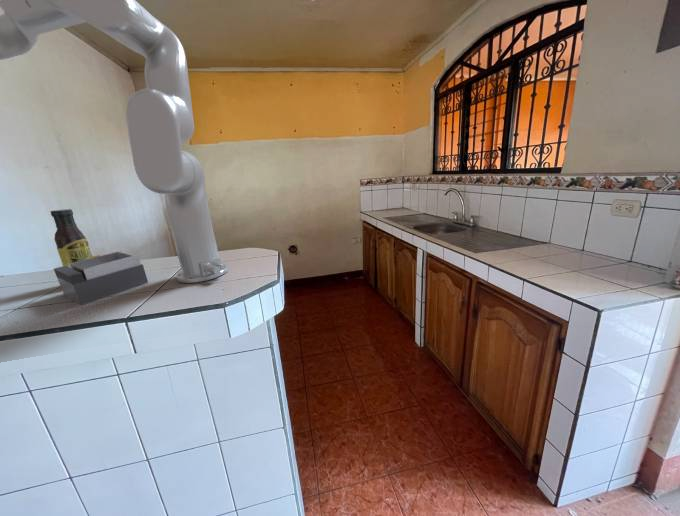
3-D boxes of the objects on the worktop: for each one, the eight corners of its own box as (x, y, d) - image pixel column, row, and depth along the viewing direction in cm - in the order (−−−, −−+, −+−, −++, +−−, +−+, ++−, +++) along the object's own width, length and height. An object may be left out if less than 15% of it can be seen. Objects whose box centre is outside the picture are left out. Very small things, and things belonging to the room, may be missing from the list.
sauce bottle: (82, 287, 75) (53, 211, 69) (64, 287, 76) (34, 212, 70) (106, 278, 81) (82, 207, 75) (89, 278, 83) (63, 208, 76)
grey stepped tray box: (148, 282, 75) (139, 253, 73) (80, 305, 64) (67, 272, 62) (128, 275, 82) (119, 249, 79) (64, 295, 71) (52, 265, 68)
